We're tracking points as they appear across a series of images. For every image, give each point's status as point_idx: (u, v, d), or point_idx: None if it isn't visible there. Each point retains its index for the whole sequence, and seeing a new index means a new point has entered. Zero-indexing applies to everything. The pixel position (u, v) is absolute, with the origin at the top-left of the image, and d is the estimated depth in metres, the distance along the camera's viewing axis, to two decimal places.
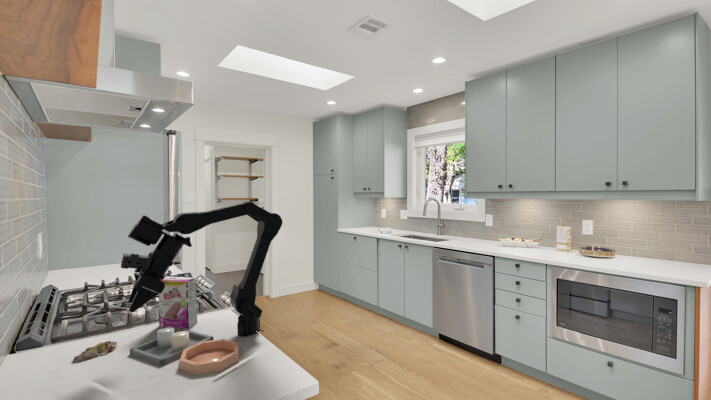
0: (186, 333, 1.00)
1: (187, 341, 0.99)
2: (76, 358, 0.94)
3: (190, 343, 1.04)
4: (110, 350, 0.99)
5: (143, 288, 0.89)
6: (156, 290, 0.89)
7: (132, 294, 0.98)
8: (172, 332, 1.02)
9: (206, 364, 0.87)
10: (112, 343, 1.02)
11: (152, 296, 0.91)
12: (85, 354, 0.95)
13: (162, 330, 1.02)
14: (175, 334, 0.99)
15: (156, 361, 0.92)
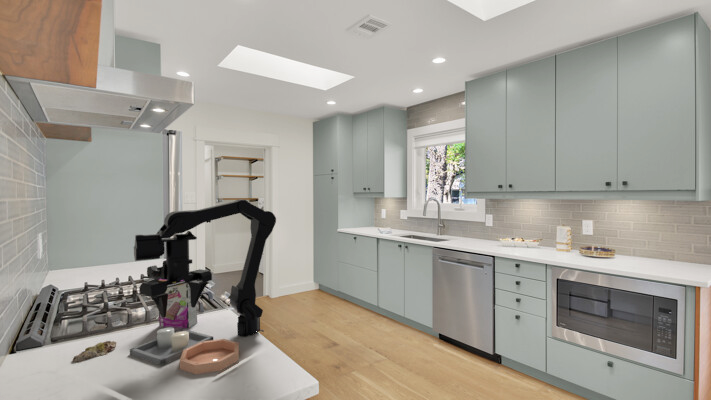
0: (186, 333, 1.00)
1: (187, 341, 0.99)
2: (76, 358, 0.94)
3: (190, 343, 1.04)
4: (110, 350, 0.99)
5: (148, 295, 0.93)
6: (149, 294, 0.90)
7: (191, 299, 1.04)
8: (172, 332, 1.02)
9: (206, 364, 0.87)
10: (112, 343, 1.02)
11: (161, 299, 0.92)
12: (85, 354, 0.95)
13: (162, 330, 1.02)
14: (175, 334, 0.99)
15: (156, 361, 0.92)
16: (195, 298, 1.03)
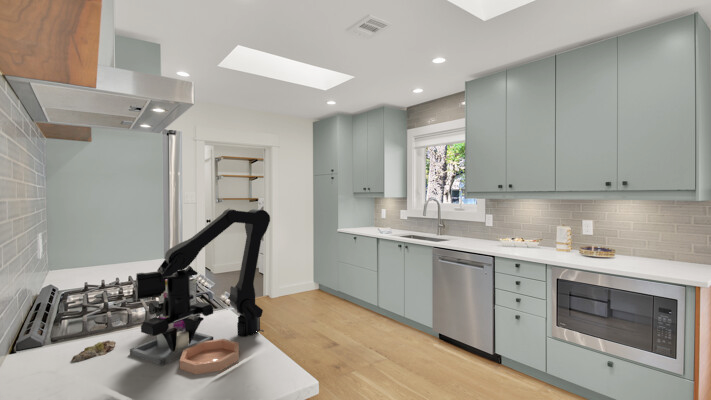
0: (186, 333, 1.00)
1: (187, 341, 0.99)
2: (75, 358, 0.94)
3: (190, 343, 1.04)
4: (109, 350, 0.99)
5: None
6: (150, 333, 0.90)
7: None
8: None
9: (206, 364, 0.87)
10: (111, 343, 1.02)
11: (170, 335, 0.95)
12: (84, 354, 0.95)
13: None
14: None
15: (156, 361, 0.92)
16: (190, 335, 1.01)
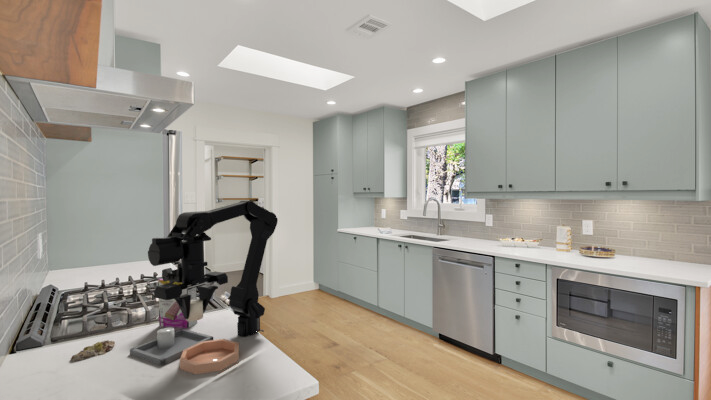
0: (200, 301, 0.97)
1: (201, 309, 0.96)
2: (74, 357, 0.94)
3: (190, 343, 1.04)
4: (108, 349, 0.99)
5: None
6: (163, 298, 0.87)
7: None
8: (172, 332, 1.02)
9: (206, 364, 0.87)
10: (110, 342, 1.02)
11: (184, 301, 0.91)
12: (83, 353, 0.95)
13: (162, 330, 1.02)
14: None
15: (156, 361, 0.92)
16: (204, 304, 0.98)
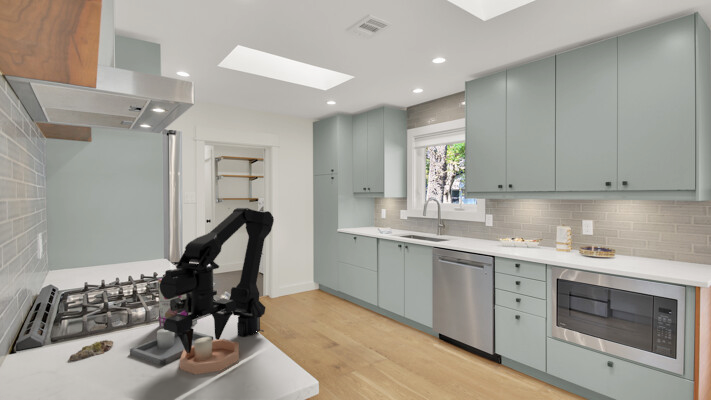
0: (209, 339, 0.96)
1: (211, 348, 0.95)
2: (72, 357, 0.94)
3: None
4: (106, 349, 1.00)
5: None
6: (174, 331, 0.86)
7: (215, 331, 0.99)
8: (172, 332, 1.02)
9: (206, 364, 0.87)
10: (108, 342, 1.02)
11: (186, 335, 0.88)
12: (81, 353, 0.96)
13: (162, 330, 1.02)
14: (198, 340, 0.95)
15: (156, 361, 0.92)
16: (219, 330, 0.99)
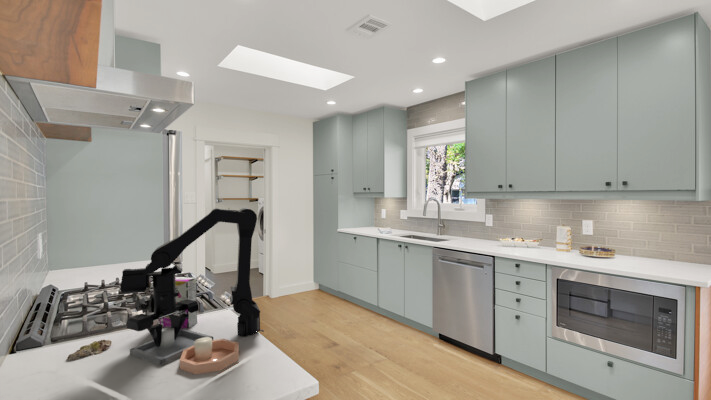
0: (209, 339, 0.96)
1: (211, 348, 0.95)
2: (70, 356, 0.95)
3: (190, 343, 1.04)
4: (104, 349, 1.00)
5: None
6: (135, 329, 0.93)
7: None
8: (172, 332, 1.02)
9: (206, 364, 0.87)
10: (107, 342, 1.03)
11: (155, 330, 0.98)
12: (79, 352, 0.96)
13: (162, 330, 1.02)
14: (198, 340, 0.95)
15: (156, 361, 0.92)
16: (175, 331, 1.04)
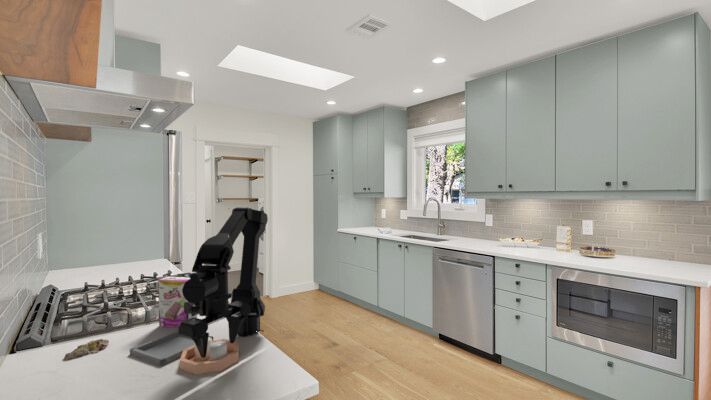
0: (209, 339, 0.96)
1: None
2: (67, 355, 0.95)
3: (190, 343, 1.04)
4: (101, 348, 1.00)
5: None
6: (189, 335, 0.83)
7: (229, 335, 0.97)
8: (225, 347, 0.92)
9: (206, 364, 0.87)
10: (104, 341, 1.03)
11: (201, 340, 0.86)
12: (76, 351, 0.96)
13: (214, 344, 0.92)
14: None
15: (156, 361, 0.92)
16: (234, 333, 0.96)
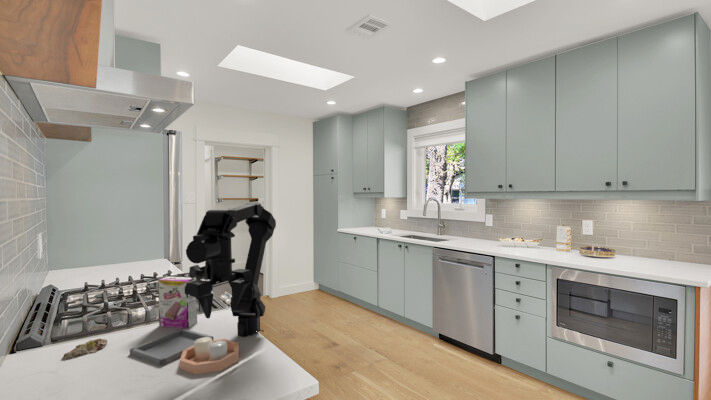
0: (209, 339, 0.96)
1: None
2: (66, 355, 0.95)
3: (190, 343, 1.04)
4: (100, 348, 1.01)
5: (193, 295, 0.90)
6: (195, 294, 0.88)
7: (232, 300, 1.01)
8: (225, 346, 0.92)
9: (206, 364, 0.87)
10: (102, 341, 1.03)
11: (206, 300, 0.90)
12: (75, 351, 0.97)
13: (214, 344, 0.92)
14: (198, 340, 0.95)
15: (156, 361, 0.92)
16: (237, 298, 1.01)
